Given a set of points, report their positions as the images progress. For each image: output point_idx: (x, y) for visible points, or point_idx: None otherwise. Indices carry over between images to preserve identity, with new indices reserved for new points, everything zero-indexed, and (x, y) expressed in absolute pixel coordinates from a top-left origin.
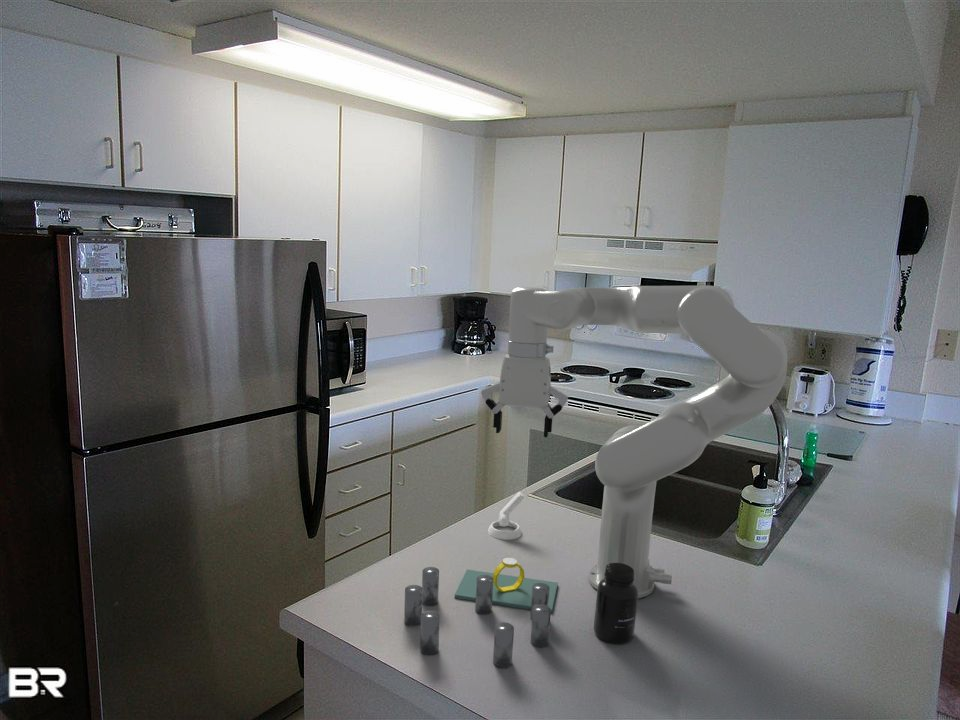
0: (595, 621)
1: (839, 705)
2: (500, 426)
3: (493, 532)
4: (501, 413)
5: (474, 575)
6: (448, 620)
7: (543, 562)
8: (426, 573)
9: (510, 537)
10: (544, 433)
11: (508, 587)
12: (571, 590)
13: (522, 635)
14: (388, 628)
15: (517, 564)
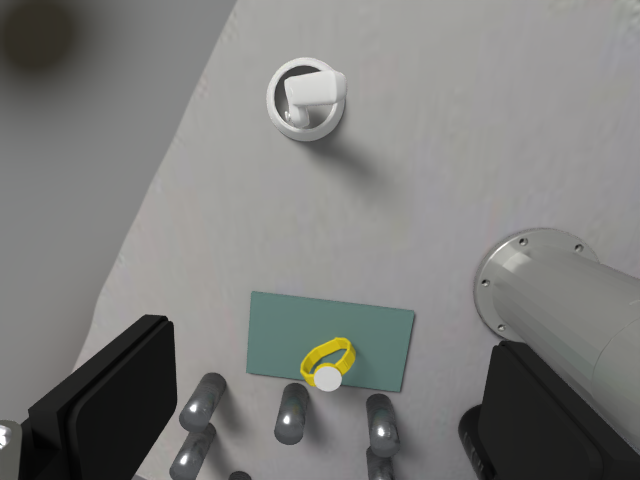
0: (464, 446)
1: None
2: (158, 392)
3: (280, 127)
4: (87, 455)
5: (267, 311)
6: (250, 422)
7: (391, 230)
8: (188, 428)
9: (320, 136)
10: (491, 451)
11: (329, 346)
12: (436, 321)
13: (355, 442)
14: (177, 447)
15: (342, 375)
